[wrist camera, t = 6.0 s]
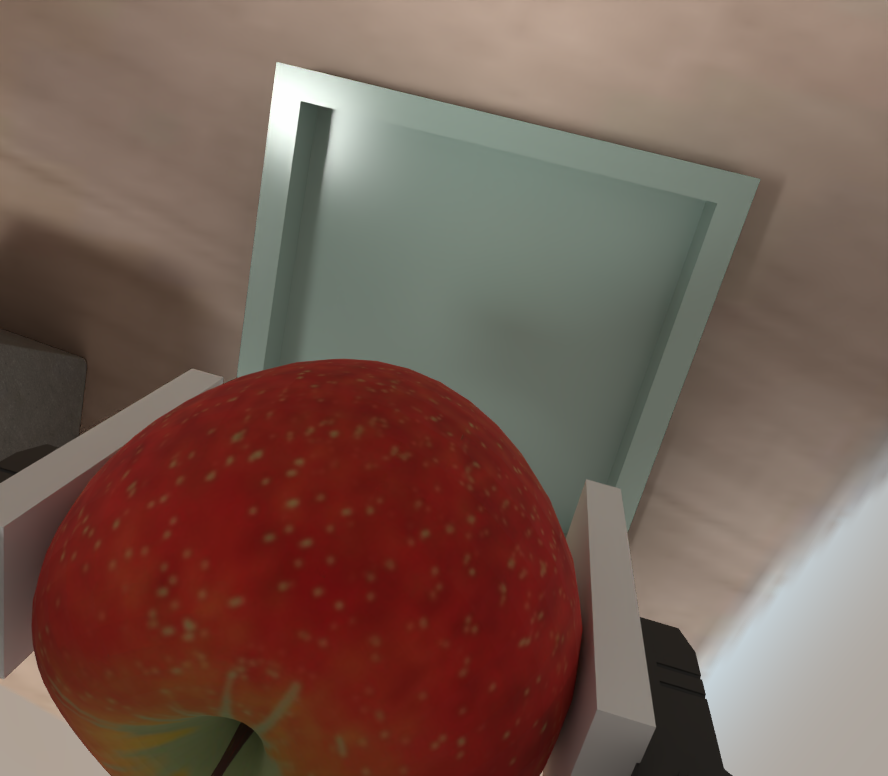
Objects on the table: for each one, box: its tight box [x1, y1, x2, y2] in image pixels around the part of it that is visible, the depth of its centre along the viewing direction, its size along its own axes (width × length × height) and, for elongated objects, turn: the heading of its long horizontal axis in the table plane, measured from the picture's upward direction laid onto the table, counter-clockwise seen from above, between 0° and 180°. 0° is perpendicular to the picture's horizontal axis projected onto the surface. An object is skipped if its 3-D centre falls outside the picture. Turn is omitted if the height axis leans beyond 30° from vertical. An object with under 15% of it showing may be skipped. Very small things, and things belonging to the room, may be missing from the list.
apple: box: [31, 359, 583, 776], centre depth 11 cm, size 8×8×10 cm
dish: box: [237, 62, 760, 539], centre depth 27 cm, size 16×16×2 cm
